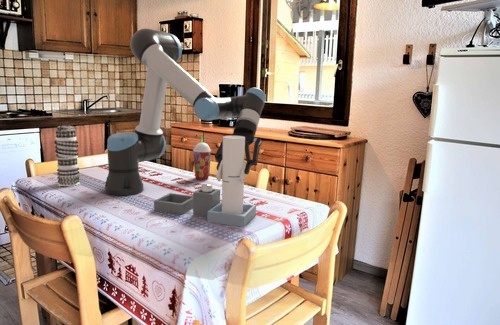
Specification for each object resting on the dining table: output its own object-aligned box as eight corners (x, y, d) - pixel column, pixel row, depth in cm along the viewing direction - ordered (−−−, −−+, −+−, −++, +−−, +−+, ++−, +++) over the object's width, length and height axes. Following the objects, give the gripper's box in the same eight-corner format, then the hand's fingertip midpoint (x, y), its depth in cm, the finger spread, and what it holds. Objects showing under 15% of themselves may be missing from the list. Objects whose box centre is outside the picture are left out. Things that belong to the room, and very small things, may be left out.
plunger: (199, 197, 132) (199, 185, 131) (204, 194, 135) (204, 183, 135) (209, 198, 131) (209, 186, 130) (213, 195, 134) (213, 184, 134)
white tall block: (240, 215, 125) (242, 139, 121) (219, 213, 127) (220, 137, 122) (245, 209, 132) (247, 136, 127) (224, 207, 134) (226, 135, 129)
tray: (207, 221, 126) (207, 211, 125) (221, 210, 138) (222, 200, 137) (244, 227, 122) (244, 216, 122) (255, 214, 134) (256, 205, 133)
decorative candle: (56, 188, 160) (52, 127, 155) (57, 182, 168) (53, 125, 163) (80, 186, 164) (77, 127, 159) (80, 181, 172) (77, 124, 167)
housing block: (193, 214, 132) (193, 192, 131) (201, 209, 139) (201, 187, 137) (212, 217, 130) (212, 194, 128) (219, 211, 137) (220, 189, 135)
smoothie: (213, 177, 186) (214, 136, 182) (206, 181, 178) (206, 138, 174) (198, 175, 188) (198, 135, 184) (189, 179, 181) (189, 137, 177)
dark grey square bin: (154, 210, 135) (153, 200, 135) (169, 202, 146) (169, 193, 145) (182, 214, 132) (182, 204, 132) (196, 205, 142) (196, 196, 142)
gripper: (275, 133, 136) (261, 189, 124) (222, 130, 142) (204, 183, 130) (272, 119, 130) (257, 177, 118) (217, 116, 136) (197, 170, 124)
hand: (229, 180), depth 124 cm, fingers closed on white tall block, 7 cm apart
